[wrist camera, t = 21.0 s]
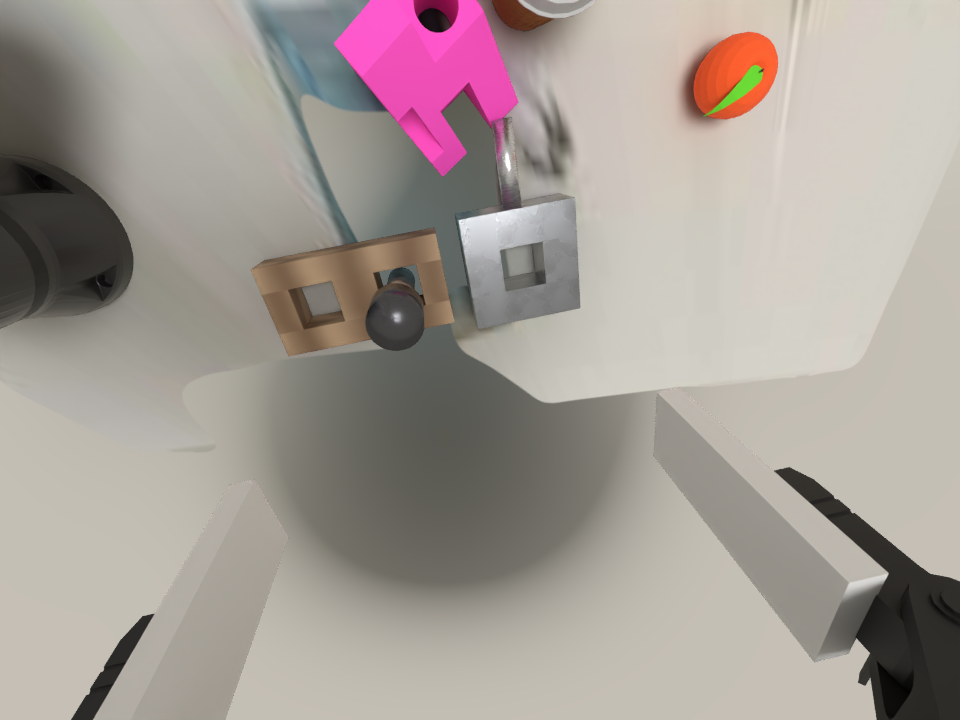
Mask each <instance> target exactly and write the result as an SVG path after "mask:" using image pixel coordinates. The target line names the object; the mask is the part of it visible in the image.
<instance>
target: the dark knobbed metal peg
mask: <svg viewBox="0 0 960 720" xmlns="http://www.w3.org/2000/svg"><path fill="white" fill-rule="evenodd" d="M414 284H415V279H414V275H413V274H412V272H411V271H410V270H408V269H406V268H402V267H400V268H396V269H394V270H393V271H392V272H391V273H390V275H389V278H388V283H387V285H385V286H383V287H381V288H380V289H378V290H377V291H376V293H375V294H374V296H373V297H372V300H371V303H370V306H369V309H368V312H367V315H366V319H365V326H366V330H367V333H368V335H369V337H370V338H371V339H372V340H373V341H374V343H376V344H377V345H379V346H380V347H382V348H384V349H387V350H394V351H399V350H404V349H407V348H410V347H411V346H413V345H414V344H416V343H417V342H418V341H419V339H420V338H421V336H422V334H423V331H424V305H423V301H422V299H421V297H420V295H419V294H418V293H417V292H416V291H415V290H414Z"/></svg>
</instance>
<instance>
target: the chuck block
mask: <svg viewBox="0 0 960 720" xmlns="http://www.w3.org/2000/svg"><path fill="white" fill-rule="evenodd" d="M491 122H492V130H493V137H494V145H495V153H496V161H497V168H498V176H499V184H500V191H501V199H502V205H498V206H493V207H487V208H483V209H477V210H473V211H467V212H462V213H456V214H455V219H456V224H457V229H458V235H459V240H460V245H461V251H462V256H463V262H464V267H465V272H466V278H467V284H468V289H469V294H470V300H471V305H472V311H473V315H474V318H475V321H476V324H477V327H478V329H481V328H486V327H491V326H496V325H501V324H505V323H510V322H515V321H520V320H525V319H530V318H535V317H539V316H544V315H549V314H554V313H559V312H564V311H568V310H573V309H578V308H580V292H579V271H578V251H577V231H576V211H575V197H571V196H567V195H563V194H555V195H549V196H544V197H539V198H534V199H529V200H524V201H521V196H520V187H519V178H518V169H517V160H516V150H515V141H514V132H513V123H512V117H509V118H503V119H498V120H493V121H491ZM527 244H532V249H533V259H534V269H535V272H532V273H527V274H522V275H518V276H513V277H508V278H504V277H503V269H502V262H501V255H500V250H502V249H507V248H512V247H517V246H522V245H527Z"/></svg>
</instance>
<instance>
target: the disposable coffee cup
mask: <svg viewBox="0 0 960 720" xmlns="http://www.w3.org/2000/svg"><path fill="white" fill-rule="evenodd" d="M596 1H597V0H492V2H493V5H494V7H495V10H496V12H497V14H498V15H499V17H500V18H501V19H502V20H503V22H504V23H506V24H507V25H508V26H509V27H511V28H514V29H516V30H521V31H528V30H531V29H534V28H536V27H538V26H541V25H543V24H545V23H547V22H549V21H551V20H553V19H560V18H566V17H571V16H573V15H576V14H578V13H580V12H582V11H583V10H585V9H587V8H589V7H590V6H591V5H592V4H593V3H595V2H596Z"/></svg>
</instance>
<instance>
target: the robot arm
mask: <svg viewBox="0 0 960 720" xmlns="http://www.w3.org/2000/svg"><path fill="white" fill-rule="evenodd" d="M132 271H133V253H132V248H131V244H130V241H129V238H128V236H127V233H126V231H125V229H124V227H123V225H122V224H121V222H120V220H119V219H118V217H117V216H116V214H115V213H114V212H113V210H112V209H111V208H110V207H109V206H108V204H107V203H106V202H105V201H104V200H103V199H102V198H101V197H100V196H99V195H98V194H97V193H96V192H94V191H93V190H92V189H91V188H90V187H88V186H87V185H86V184H84V183H83V182H82V181H80V180H79V179H77V178H76V177H74V176H72V175H71V174H69V173H67V172H65V171H64V170H62V169H60V168H57V167H55V166H53V165H50V164H48V163H45V162H42V161H39V160H36V159H32V158H27V157H21V156H12V155H0V329H1V328H3V327H5V326H8V325H10V324H12V323H14V322H17V321H19V320H22V319H27V318H44V317H61V316H74V315H79V314H84V313H87V312H90V311H93V310H96V309H98V308H100V307H102V306H104V305H106V304H108V303H110V302H112V301H113V300H115V299H116V298H118V297H119V296H120V295H121V294H122V293H123V291H124V290H125V289H126V287H127V286H128V284H129V282H130V279H131V276H132ZM656 399H657V400H656V417H655V436H654V457H655V458H656V460H657V461H658V462H659V463H660V465H661V466H662V467H663V469H664V470H665V471H666V472H667V474H668V475H669V476H670V478H671V479H672V480H673V482H674V483H675V484H676V485H677V487H678V488H679V489H680V491H681V492H682V493H683V494H684V496H685V497H686V498H687V499H688V501H689V502H690V503H691V505H692V506H693V507H694V508H695V510H696V511H697V512H698V513H699V515H700V516H701V517H702V519H703V520H704V521H705V523H706V524H707V525H708V526H709V528H710V529H711V530H712V532H713V533H714V534H715V535H716V536H717V538H718V539H719V540H720V542H721V543H722V544H723V545H724V547H725V548H726V550H728V552H729V553H730V555H731V556H732V557H733V558H734V560H735V561H736V562H737V564H738V565H739V566H740V567H741V569H742V570H743V571H744V572H745V574H746V575H747V576H748V578H749V579H750V580H751V582H752V583H753V584H754V585H755V587H756V588H757V589H758V591H759V592H760V593H761V594H762V596H763V597H764V598H765V600H766V601H767V602H768V603H769V605H770V606H771V607H772V608H773V610H774V611H775V612H776V614H777V615H778V616H779V617H780V619H781V620H782V621H783V623H784V624H785V625H786V626H787V627H788V629H789V630H790V632H791V633H792V634H793V635H794V637H795V638H796V639H797V641H798V642H799V643H800V644H801V645H802V647H803V648H804V649H805V651H806V652H807V653H808V654H809V656H810V657H811V658H812V660H813V661H814V662H818V661H821V660H825V659H829V658H833V657H838V656H842V655H846V654H848V653H849V652H850V650H851V647H852V645H853V644H854V642H855V640H856V638H857V639H858V640H859V641H860V642H861V644H862V645H863V646H864V647H865V648H866V649H867V650H868V651H869V652H870V655H869V657H868V658H867V660H866V662H865V664H864V666H863V668H862V669H861V671H860V674H859V681H858V683H860V684H862V685H866V684H867V682H868V680H869V678H870V677H871V684H872V691H873V697H874V704H875V711H876V718H877V720H960V581H957V580H954V579H952V578H949V577H944V576H938V575H933V574H930V573H928V572H927V571H926V570H924V569H923V568H921V567H920V566H919V565H917V564H916V563H915V562H914V561H912V560H911V559H910V558H909V557H908V556H906V555H905V554H904V553H903V552H901V551H900V550H899V549H898V548H897V547H895V546H894V545H893V544H892V543H891V542H889V541H888V540H887V539H886V538H884V537H883V536H882V535H881V534H879V533H878V532H877V531H876V530H875V529H873V528H872V527H871V526H870V525H869V524H867V523H866V522H865V521H864V520H862V519H861V518H860V517H859V516H858V515H856V514H855V513H851V511H850V509H849V508H848V507H847V506H845V505H844V504H843V503H842V502H840V501H839V500H838V499H835V498H834V496H833V495H832V494H831V493H829V492H828V491H827V490H826V489H824V488H823V487H822V486H821V485H820V484H819V483H817V482H816V481H815V480H814V479H812V478H810V477H807V476H806V475H804V474H802V473H799V472H798V471H795V470H794V469H792V468H790V467H789V468H784V469H779V470H776V471H773V470H772V469H771V468H770V467H769V466H768V465H766V464H765V463H764V462H763V461H762V460H761V459H760V458H759V457H757V456H756V455H755V454H754V453H753V452H752V451H751V450H750V449H748V448H747V447H746V446H745V445H744V444H743V443H741V441H739V440H738V439H737V438H736V437H735V436H734V435H733V434H732V433H730V432H729V431H728V430H727V429H726V428H725V427H724V426H723V425H721V424H720V423H719V422H718V421H717V420H716V419H715V418H714V417H712V416H711V415H710V414H709V413H708V412H707V411H706V410H704V409H703V408H702V407H701V406H700V405H699V404H698V403H697V402H695V401H694V400H693V399H692V398H691V397H690V396H689V395H688V394H687V393H685V392H684V391H683V390H682V389H681V388H680V387H677V388H672V389H668V390H663V391H659V392H657V398H656ZM287 540H288V536H287V535H286V533H285V531H284V530H283V528H282V526H281V524H280V523H279V521H278V519H277V517H276V516H275V514H274V512H273V511H272V509H271V507H270V505H269V504H268V502H267V500H266V498H265V497H264V495H263V493H262V492H261V490H260V488H259V486H258V485H257V483H256V482H255V480H254V479H253V480H249V481H244V482H239V483H235V484H230V485H229V487H228V489H227V490H226V492H225V494H224V496H223V497H222V499H221V501H220V503H219V504H218V506H217V507H216V509H215V511H214V513H213V515H212V516H211V518H210V519H209V521H208V523H207V525H206V526H205V528H204V530H203V532H202V533H201V535H200V537H199V539H198V540H197V542H196V544H195V546H194V547H193V549H192V551H191V552H190V554H189V556H188V557H187V559H186V561H185V562H184V564H183V566H182V568H181V569H180V571H179V573H178V575H177V576H176V578H175V580H174V581H173V583H172V585H171V587H170V589H169V590H168V592H167V594H166V595H165V597H164V599H163V600H162V602H161V604H160V606H159V607H158V609H157V611H156V612H155V614H151V615H147V616H142V618H141V619H140V620H139V621H138V622H137V623H136V624H135V625H134V626H133V627H132V628H131V630H130V631H129V632H128V633H127V634H126V635H125V636H124V637H123V638H122V639H121V640H120V642H119V643H118V645H117V647H116V648H115V650H114V651H113V653H112V655H111V656H110V658H109V660H108V661H107V663H106V664H105V666H104V671H103V672H101V673H100V674H99V676H98V677H97V679H96V680H95V682H94V684H93V685H92V687H91V688H90V694H89V695H86V697H85V698H84V700H83V701H82V703H81V705H80V706H79V708H78V710H77V711H76V713H75V714H74V716H73V718H72V719H71V720H225V719H226V716H227V713H228V710H229V707H230V705H231V701H232V699H233V696H234V693H235V690H236V687H237V684H238V681H239V678H240V676H241V673H242V670H243V667H244V664H245V661H246V658H247V655H248V652H249V650H250V647H251V644H252V641H253V638H254V635H255V632H256V629H257V627H258V624H259V621H260V618H261V615H262V612H263V609H264V606H265V603H266V601H267V598H268V595H269V592H270V589H271V586H272V583H273V580H274V578H275V575H276V572H277V569H278V566H279V563H280V560H281V557H282V554H283V552H284V549H285V546H286V543H287Z"/></svg>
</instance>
